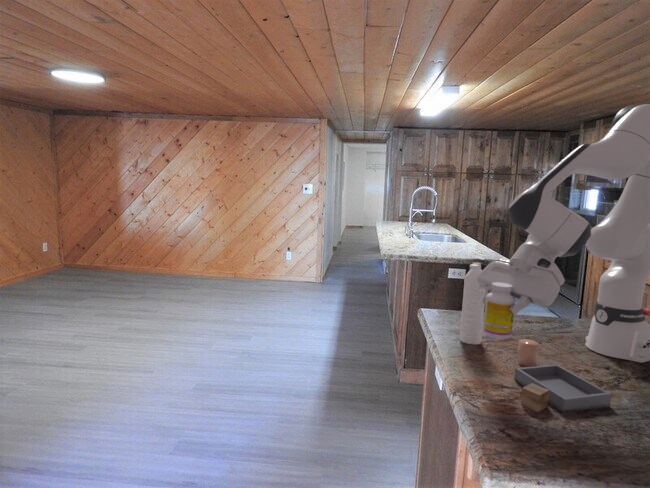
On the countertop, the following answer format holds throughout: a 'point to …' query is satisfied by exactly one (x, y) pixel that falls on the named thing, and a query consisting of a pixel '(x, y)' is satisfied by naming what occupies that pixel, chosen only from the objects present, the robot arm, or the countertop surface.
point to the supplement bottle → (499, 311)
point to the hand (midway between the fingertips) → (497, 307)
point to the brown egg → (528, 353)
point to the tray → (564, 387)
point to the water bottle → (472, 307)
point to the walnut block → (535, 397)
